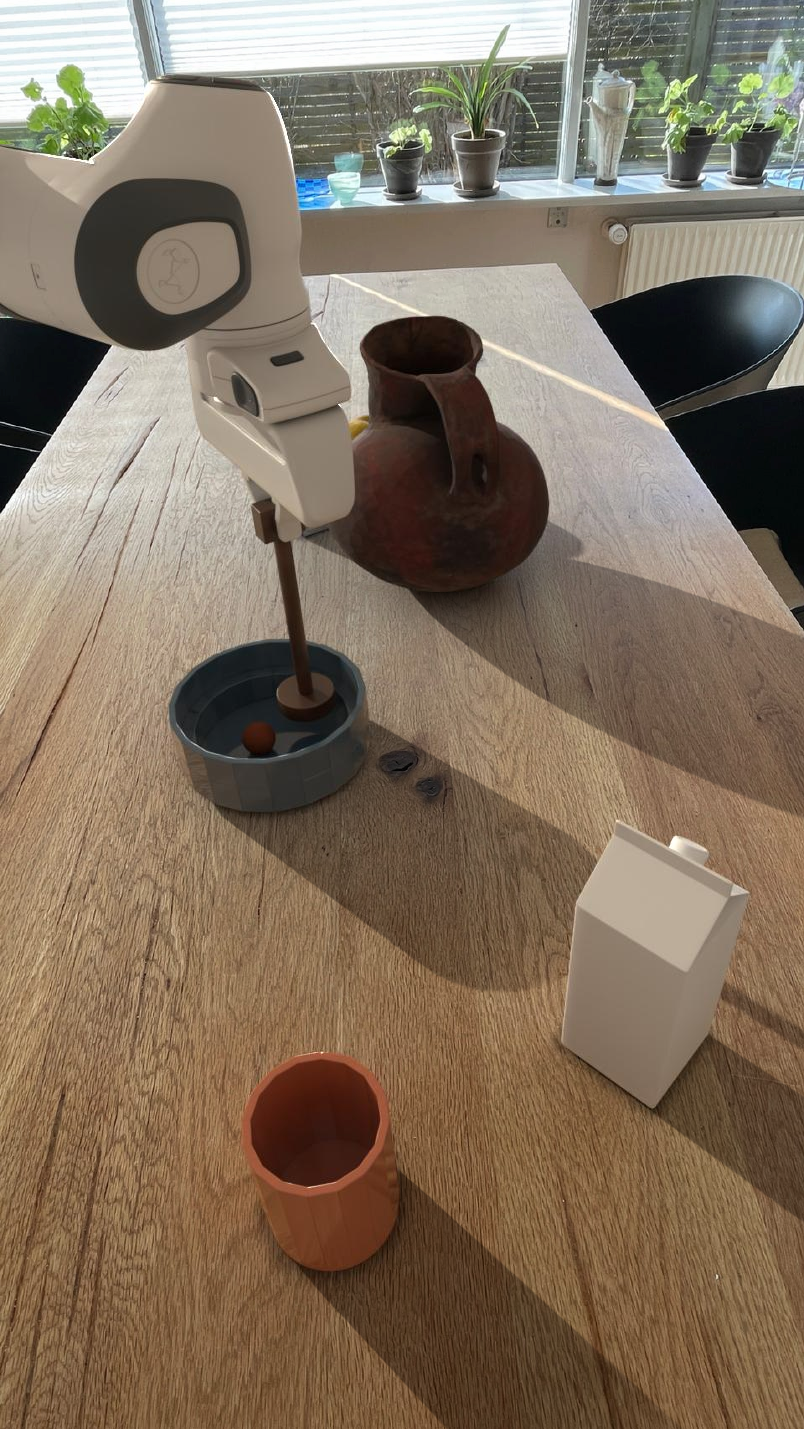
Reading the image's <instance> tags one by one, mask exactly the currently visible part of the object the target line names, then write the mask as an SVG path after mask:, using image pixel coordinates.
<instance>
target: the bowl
mask: <svg viewBox="0 0 804 1429" xmlns="http://www.w3.org/2000/svg"><path fill="white" fill-rule="evenodd" d="M306 644H307V651H308V657H309V664H310V671H311V673H318V674H322V675H324V676H326V677H328V678H329V679H330V680H331V681H332V682H333V684H334V689H335V697H336V704H335V707H334V709H333V710H332V711H331V712H330V713H329V714H328V715H327V716H325V717H323V718H321V719H319V720H316V721H311V722H296V721H292V720H290V719H288V718H286V717H285V716H283V715H282V713H281V712H280V709H279V704H278V698H277V690H278V687H279V686H280V684H281V683H282V682H283V681H285V680H286V679H287V678H289V677H291V676H294V675H295V671H294V665H293V659H292V653H291V647H290V641H289V638H266V639H261V640H255V641H250V642H244V643H241V644H240V643H239V644H237V645H235V646H232V647H229V648H226V649H224V650H221V651H219V652H216V653H214V654H212V655H210V656H209V657H207V658H206V659H205V660H203V661H201V662H200V663H198V664H197V665H195V666H193V667H192V668H191V669H190V670H189V671H188V672H187V673H186V675H185V676H184V677H183V678H182V679H181V680H180V681H179V682H178V683H177V684H176V685H175V687H174V689H173V693H172V696H171V697H170V700H169V703H168V705H167V711H168V720H169V728H170V731H171V734H172V738H173V742H174V746H175V748H176V749H175V750H176V752H177V755H178V756H177V757H178V759H179V763H180V766H181V770H182V773H183V775H184V777H185V778H186V780H187V781H188V783H189V784H190V786H191V787H192V789H193V791H195V792H196V793H198V794H199V795H200V796H202V797H204V798H205V799H206V800H208V801H210V802H211V803H212V804H214V805H218V806H221V807H225V808H228V809H232V810H235V811H240V812H245V813H247V812H249V813H278V812H281V811H286V810H291V809H296V808H301V807H305V806H308V805H311V804H313V803H315V802H316V801H318V800H321V799H323V798H325V797H327V796H330V795H331V794H334V793H336V792H337V791H338V790H339V789H340V788H341V787H343V786H344V785H345V784H346V783H348V781H350V780H351V779H352V778H353V777H355V776H356V774H358V771H359V770H360V768H361V767H362V765H363V763H364V762H365V760H366V758H367V757H368V755H369V749H370V741H371V726H370V715H369V705H368V696H367V695H368V694H367V686H366V683H365V680H364V678H363V676H362V672H361V669H360V668H359V667H358V666H357V665H356V664H355V662H353V661H352V660H351V659H350V658H349V657H348V656H347V655H346V654H345V653H343V652H341V651H339V650H337V649H335V648H333V647H330V646H329V645H327V644H324V643H321V642H315V641H311V640H306ZM254 722H264V723H267V724H268V725H270V726H271V727H272V729H273V730H274V732H275V736H276V741H275V744H274V746H273V748H272V749H271V750H270V751H269V752H268V753H266V754H262V755H255V754H252V753H250V752H249V751H247V750H246V748H245V747H244V745H243V742H242V735H243V732H244V730H245V728H246V727H247V726H248V725H249V724H251V723H254Z"/></svg>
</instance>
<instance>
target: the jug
mask: <svg viewBox="0 0 804 1429" xmlns="http://www.w3.org/2000/svg"><path fill="white" fill-rule="evenodd" d="M358 348H359V351H360V352H359V353H360V357H361V358H362V360H363V362H364V364H365V368H366V372H367V381H368V389H367V408H368V415H369V423H368V426H367V428H366V429H365V430H364V431H363V432H362V433H361V434H359V435H358V436H357V437H355V438H354V439H353V440H352V452H353V464H354V482H355V500H354V504H353V507H352V509H351V511H350V512H349V514H348V515H347V516H345V517H343V518H340V519H338V520H335V521H332V522H330V523H328V527H329V528H328V529H329V532H330V534H331V536H332V538H333V539H334V541H335V542H336V544H337V546H339V548H340V549H341V550H342V552H343V553H344V554H345V555H346V556H347V557H348V558H349V559H350V560H351V561H352V562H353V563H355V564H356V565H357V566H359V567H360V568H361V569H363V570H364V571H366V572H367V573H369V574H370V575H371V576H373V577H375V578H377V579H378V580H381V581H383V582H385V583H386V584H387V583H388V584H390V585H393V586H397V587H400V588H404V589H407V590H413V591H417V592H418V591H419V592H427V593H447V592H449V593H450V592H457V591H465V590H469V589H474V588H477V587H480V586H483V585H485V584H488V583H490V582H493V581H494V580H497V579H499V578H500V577H502V576H504V575H506V574H507V573H509V572H511V571H513V570H514V569H516V568H518V566H520V565H521V564H522V563H523V562H525V560H527V559H528V557H529V556H530V555H531V554H532V553H533V552H534V550H535V548H536V547H537V546H538V544H539V542H540V540H541V539H542V537H543V535H544V532H545V530H546V528H547V524H548V519H549V513H550V496H549V487H548V484H547V478H546V475H545V472H544V469H543V467H542V464H541V462H540V460H539V458H538V456H537V454H536V452H535V451H534V450H533V449H532V447H531V445H530V444H528V443H527V441H525V440H524V438H522V436H521V435H520V434H518V433H517V432H516V431H515V430H513V429H512V428H510V427H509V426H507V425H506V424H505V423H501V422H500V421H497V419H496V415H495V412H494V408H493V405H492V404H493V403H492V402H491V398H490V397H489V394H488V392H487V390H486V388H485V386H484V385H483V383H482V381H481V380H480V379H479V377H478V376H477V374H476V373H477V367H478V363H479V362H480V361H481V359H482V357H483V356H484V344H483V340H482V337H481V336H480V334H479V333H478V332H477V331H476V330H475V329H474V328H473V327H471V326H469V325H468V324H466V323H465V322H463V321H460V320H458V319H456V318H452V317H449V316H445V315H421V316H420V315H417V316H405V317H397V318H394V319H390V320H386V321H384V322H381V323H378V324H376V325H374V326H373V327H372V328H370V329H369V330H368V331H367V333H365V335H363V337H362V339H361V340H360V342H359V347H358Z"/></svg>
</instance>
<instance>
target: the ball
mask: <svg viewBox="0 0 804 1429" xmlns="http://www.w3.org/2000/svg"><path fill="white" fill-rule="evenodd" d="M275 741H276V736H275V732H274V730H273V729H272V727H271V726H270V725H268V724H267V723H264V722H254V723H251V724H249V725H248V726H247V727H246V728H245V730H244V732H243V735H242V742H243V745H244V747H245V748H246V750H247V751H249V752H250V753H252V754H255V755H262V754H266V753H268V752H269V751H270V750H271V749H272V748H273V746H274V744H275Z"/></svg>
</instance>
